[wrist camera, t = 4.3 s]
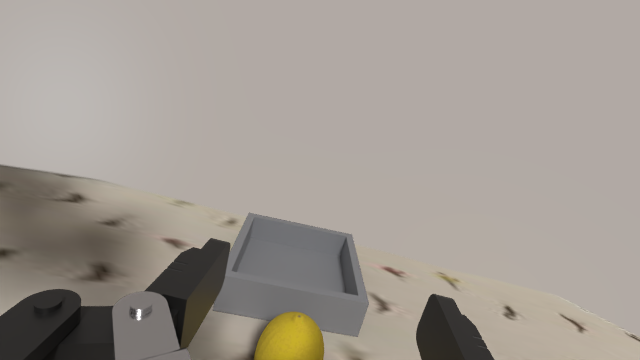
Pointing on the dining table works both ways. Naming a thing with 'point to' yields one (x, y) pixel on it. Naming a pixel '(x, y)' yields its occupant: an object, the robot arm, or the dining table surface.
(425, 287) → the dining table surface
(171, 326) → the robot arm
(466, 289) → the dining table surface
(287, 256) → the bin
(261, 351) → the lemon
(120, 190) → the dining table surface
